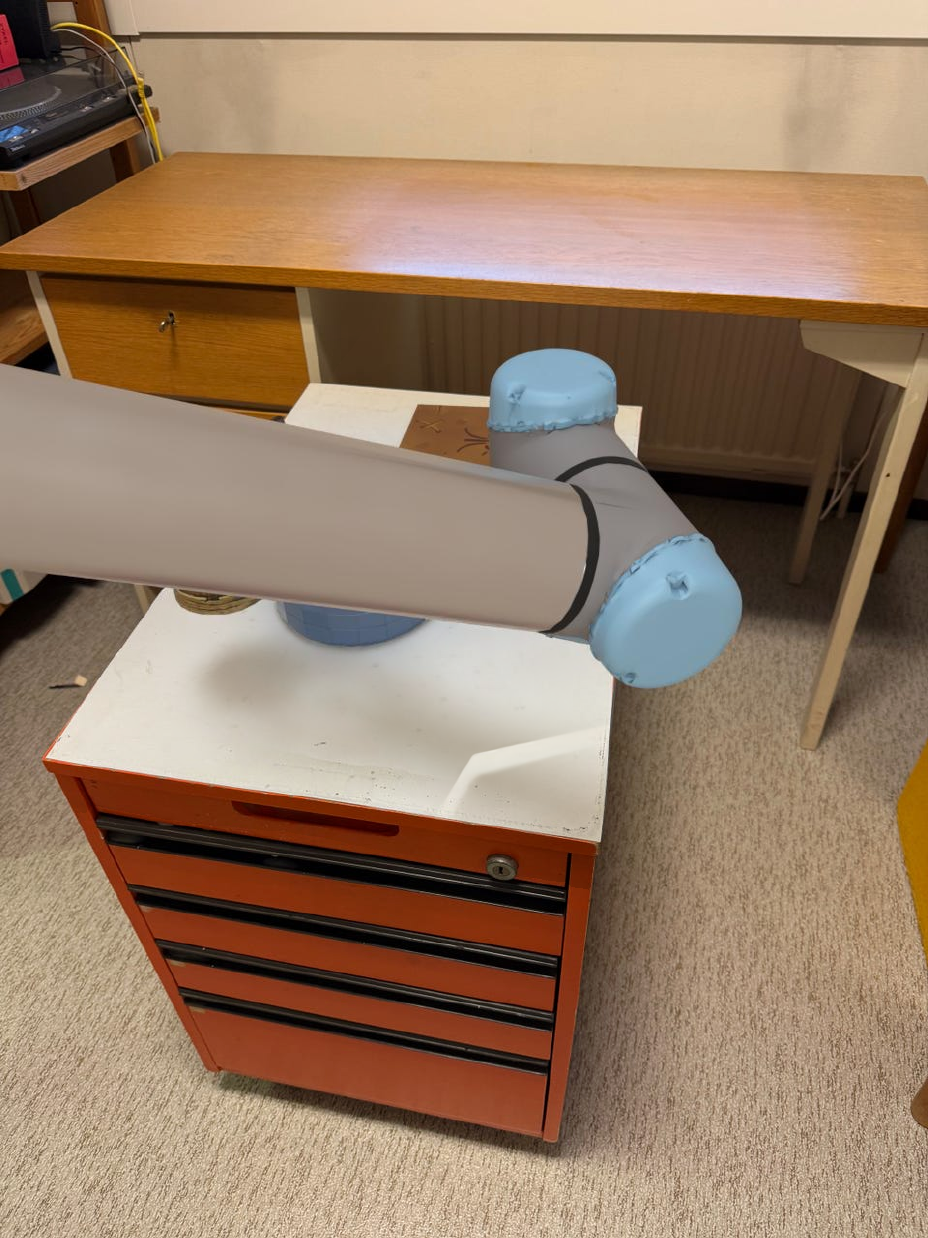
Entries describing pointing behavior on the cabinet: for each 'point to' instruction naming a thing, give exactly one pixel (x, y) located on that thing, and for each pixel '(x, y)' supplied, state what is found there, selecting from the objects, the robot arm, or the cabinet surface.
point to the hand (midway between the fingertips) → (176, 479)
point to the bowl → (344, 624)
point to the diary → (450, 432)
